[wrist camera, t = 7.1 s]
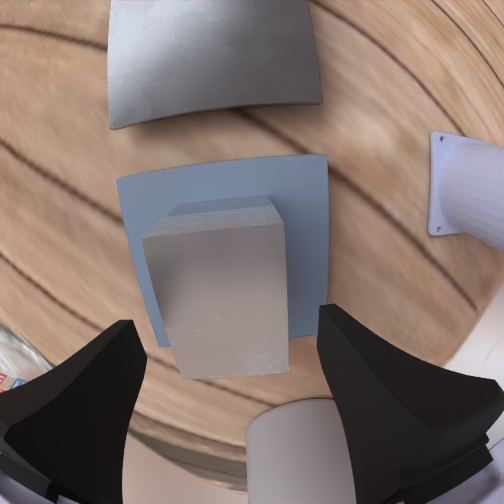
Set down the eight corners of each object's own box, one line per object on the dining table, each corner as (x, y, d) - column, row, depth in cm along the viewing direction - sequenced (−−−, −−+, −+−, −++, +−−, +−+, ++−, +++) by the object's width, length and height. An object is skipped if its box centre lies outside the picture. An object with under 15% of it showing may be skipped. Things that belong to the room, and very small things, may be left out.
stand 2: (317, 153, 16) (326, 154, 14) (318, 317, 20) (325, 333, 18) (129, 175, 16) (116, 179, 14) (164, 330, 20) (159, 346, 18)
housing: (267, 194, 15) (284, 223, 9) (274, 304, 17) (288, 372, 12) (177, 204, 15) (140, 238, 9) (197, 311, 17) (182, 379, 12)
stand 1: (290, -32, 10) (295, -46, 8) (313, 107, 15) (322, 102, 13) (124, -9, 10) (114, -21, 8) (123, 130, 15) (110, 129, 13)
